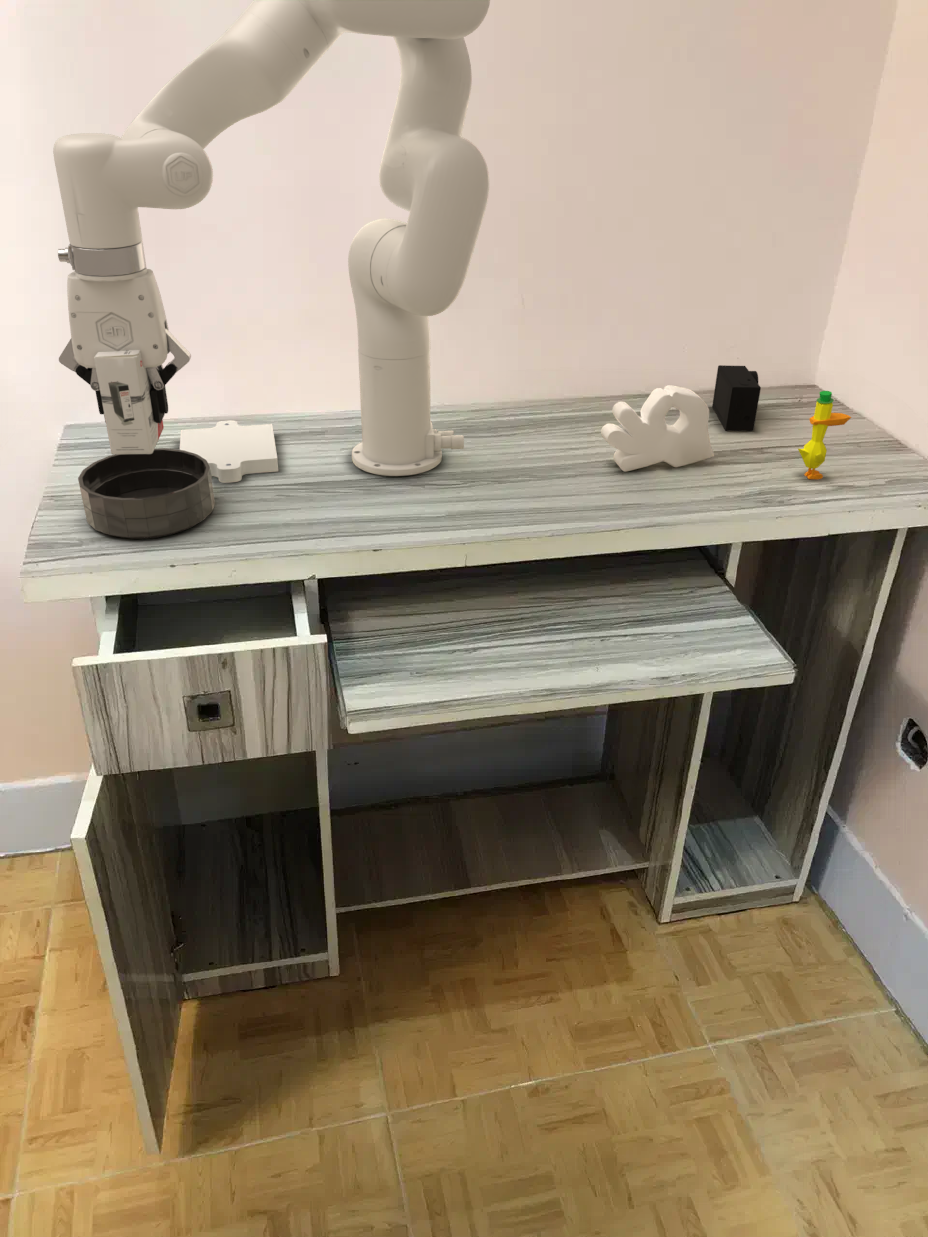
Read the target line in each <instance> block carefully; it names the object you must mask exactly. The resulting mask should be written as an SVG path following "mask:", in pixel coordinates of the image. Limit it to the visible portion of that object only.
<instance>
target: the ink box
mask: <svg viewBox="0 0 928 1237" xmlns="http://www.w3.org/2000/svg"><path fill="white" fill-rule="evenodd" d="M94 360H95V365H96V371H97V376H98V382H99V387H100V393H101V398H102V404H103V410H104V414H103V416H104V415H105V418H104V422H105V421H106V423H105V426H106V432H107V437H108V443H109V448H110V455H115V454H152V453H153V451H154V449H156V446H157V444H158V442H159V440H160V437H161V435H162V433H163V431H164V421H163V420H164V419H162V421H161V423H156V422H154V418H153V412H152V405H151V399H150V390H151V388H152V385H151V384H152V382H151V380H150V378H149V376H148V374H147V371H146V368H144V367H143V365H142V359H141V353H140V350H126V351H113V352H98V353H97V354H96V356H95V357H94Z"/></svg>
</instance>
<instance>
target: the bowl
mask: <svg viewBox="0 0 928 1237" xmlns="http://www.w3.org/2000/svg"><path fill="white" fill-rule="evenodd" d="M77 481H78V485H79V491H80V495H81V500H82V505H83V509H84V514H85V520H86V523H87V524H88V525H89V526H90V527H92V528H93V529H94V530H95V531H98V532H100V533H103V534H105V535H108V536H112V537H116V538H120V539H131V540H144V539H145V540H146V539H157V538H163V537H167V536H171V535H175V534H179V533H181V532H184V531H187V530H189V529H191V528H193V527H195V526H196V525H198V524H199V523H201V522H203V521H204V520H205V519H206V518H207V517H208V516H209V515H211V513H212V512H213V511H214V507H215V504H216V501H215V493H214V486H213V485H214V484H213V476H211V469H210V466H209V464H208V462H207V460H205V459H204V458H202V457H201V456H199V455H198V454H195V453H191V452H188V451H184V450H180V449H175V448H166V447H165V448H159V447H157V448H155V449H154V451H153V453H152V454H110V455H108V456H105V457H103V458H101V459H98V460H96V461H94V462H92V463H91V464H89V465H88V466H86V467H85V468H83V470H81V473H80V474H79V476H78V478H77Z"/></svg>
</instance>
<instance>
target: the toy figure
mask: <svg viewBox="0 0 928 1237" xmlns="http://www.w3.org/2000/svg"><path fill="white" fill-rule="evenodd" d="M832 395H833V392H832V391H830V390H821V391H819V397H818V398H816V403H815V408H814V412H813V416H811V417H809V418H808V420H809V423H810V425H812V429H811V439H810V440H809V441H807V442H806V443H805V444H804V445H803V448H797V450H798V453H799V455H800V456H801V458H802V461H803V463H804V466H805V468H808V469H807V471H806V472H805V473H804V474H803V476H805V477H807V479H808V480H822V479H823V478H824V475H823V474H822V473H820V471H819V470H816V469H818V468H819V467H821V465H822V464H823V463H825V461H826V456H827V453H828V452H827V451H828V450H827V447H826V444H825V443H824V439H825V436H826V433H827V431H828V428H829V427H834V426H835V427H836V426H843V425H844V426H845V425H846V424H847V423H848V421H850V420H851V419H852V416H851V415H848V414H845V413H842V412H832V411H833V406H834V404H833V402H834V398H832Z"/></svg>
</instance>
